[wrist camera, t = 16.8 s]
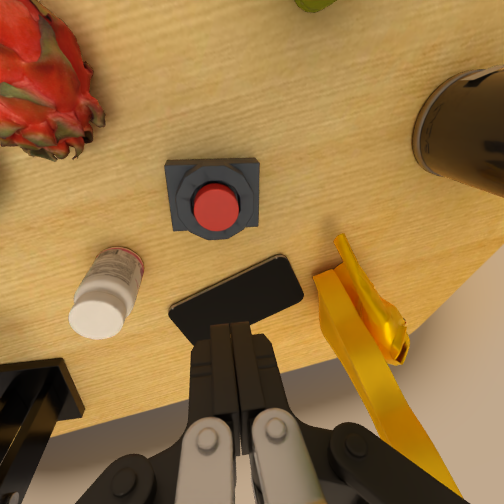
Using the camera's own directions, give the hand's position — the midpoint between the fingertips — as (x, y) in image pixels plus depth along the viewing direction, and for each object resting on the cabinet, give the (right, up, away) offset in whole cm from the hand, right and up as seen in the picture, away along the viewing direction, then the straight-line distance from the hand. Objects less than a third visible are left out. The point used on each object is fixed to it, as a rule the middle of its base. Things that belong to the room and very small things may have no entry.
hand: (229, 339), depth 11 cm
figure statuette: (+11, -1, +25) cm, 27 cm away
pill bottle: (-13, +2, +19) cm, 23 cm away
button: (-2, +8, +13) cm, 16 cm away
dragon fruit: (-12, +10, +10) cm, 18 cm away
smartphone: (-1, -2, +23) cm, 24 cm away
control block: (-3, +9, +17) cm, 19 cm away
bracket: (-26, -14, +25) cm, 38 cm away
